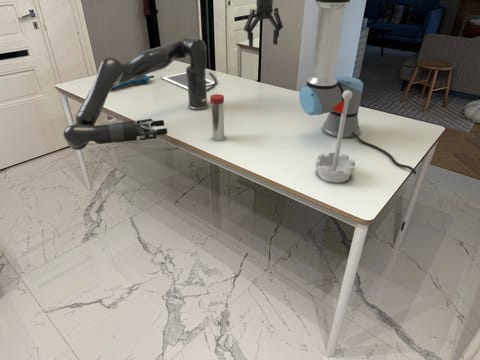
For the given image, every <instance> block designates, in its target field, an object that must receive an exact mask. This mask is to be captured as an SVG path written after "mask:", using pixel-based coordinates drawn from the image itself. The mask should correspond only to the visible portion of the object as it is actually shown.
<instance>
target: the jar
mask: <svg viewBox="0 0 480 360" xmlns="http://www.w3.org/2000/svg"><path fill="white" fill-rule="evenodd" d="M210 104H211V106H210V107H211V124H212V127H211V128H212V139H213V140H214V141H217V142H218V141H223V140H224V139H225V116H224V115H225V113H224V112H225V109H224V102H223V103H220V104H213V103H211V102H210Z"/></svg>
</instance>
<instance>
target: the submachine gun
mask: <svg viewBox="0 0 480 360" xmlns="http://www.w3.org/2000/svg"><path fill="white" fill-rule="evenodd" d="M153 78H155V75H147V74H146V75H143V76H139V77H136V78H133V79H131V80H129V81H126V82H124V83H122V84H120V85H118V86H116V87H112V88H111V90H112V91H115V89H118V88H123V87H127V86H132V85H136V84H137V85H138V84H140V83H147V82H148V81H150V79H153Z"/></svg>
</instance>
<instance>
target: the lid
mask: <svg viewBox="0 0 480 360" xmlns="http://www.w3.org/2000/svg"><path fill="white" fill-rule="evenodd" d="M209 101H210V102H209V103H210V104H211V103H213V104H220V103H223V104H224V103H225V96H224V94H219V93H216V94H212V95H210V97H209Z"/></svg>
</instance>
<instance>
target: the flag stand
mask: <svg viewBox="0 0 480 360" xmlns="http://www.w3.org/2000/svg"><path fill="white" fill-rule="evenodd" d="M342 97H343V99H344V100H343V101H342V102H340V103H339V104H337V105H336V106H334V107H333V108H331V109H333V110H335V111H337V112H339V113H342V114H341V120H340V126H339V132H338V137H336V143H335V144H336V145H335V149H334V151H328V152H327V154H325V153H322V152H321V153H320V154H318V155H317V158H316V160H315V168H316V169H317V175H318V177H319V178H321V179H322V180H324V181H326V182H329V183H344V182H346V181H348V180H349V179H350V177H351V175H352V174H353V173H354V172H355V167H356V161H355V159H354V158H353V159H352V158H351V159H350V155H348V154H346V153H342V154H341V155H340V152H341V147H342V141H343V138H342V136H343V131H344V125H345V120H346V114H347V109H348V103H349V99H351V98H352V92H351V91H349V90H346V91H344V92H343V95H342Z"/></svg>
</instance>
